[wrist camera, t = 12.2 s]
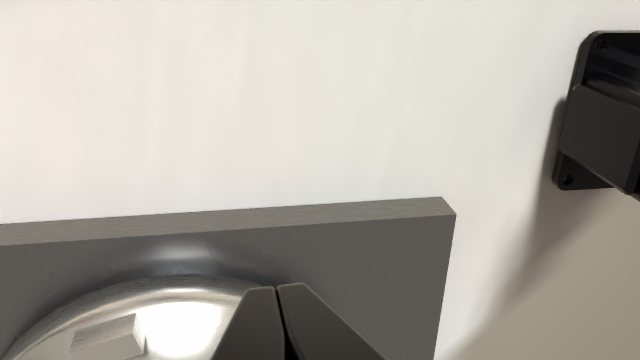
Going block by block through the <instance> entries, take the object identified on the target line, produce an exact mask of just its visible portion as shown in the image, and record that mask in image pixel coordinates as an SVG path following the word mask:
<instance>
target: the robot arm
mask: <svg viewBox="0 0 640 360" xmlns="http://www.w3.org/2000/svg"><path fill="white" fill-rule="evenodd" d="M600 40H601V46H600V48H598V49H597V50H596V45H597V43H598V42H599V41H600ZM566 175H568V177H567V179H565V180H564V181H563V179H564V177H565V176H566ZM552 182H553V184H554V185H556V186H557V187H558V188H560V189H561V190H565V191H567V190H583V189H599V188H617V189H618V190H620V191H621V192H623V193H624V194H626V195H630V196H632V197H633V198H635V199H636V200H638V201H640V31H594V32H592V33H591V34H589V35H588V37H587V38H586V39H585V41H584V44H583V48H582V52H581V56H580V61H579V65H578V69H577V73H576V77H575V82H574V86H573V90H572V92H571V96H570V100H569V105H568V109H567V113H566V117H565V122H564V126H563V130H562V134H561V138H560V143H559V149H558V153H557V157H556V162H555V166H554V170H553V174H552ZM210 360H387V359H386V358H385V357H384V356H383V355H382V354H381V353H380V352H378V351H377V350H376V349H375V348H374V347H373V346H372V345H371V344H370V343H369V342H368V341H367V340H365V339H364V338H363V337H362V336H361V335H360V334H359V333H358V332H357V331H356V330H355V329H354V328H352V327H351V326H350V325H349V324H348V323H347V322H346V321H345V320H344V319H343V318H342V317H341V316H339V315H338V314H337V313H336V312H335V311H334V310H333V309H332V308H331V307H330V306H329V305H328V304H326V303H325V302H324V301H323V300H322V299H321V298H320V297H319V296H318V295H317V294H316V293H315V292H314V291H312V290H311V289H310V288H309V287H308V286H307V285H306V284H304V283H294V284H285V285H279V286H278V287H277V288H276V290H275V288H274V287H272V286H267V287H258V288H250V289H247V290H246V291H245V293H244V295H243V297H242V298H241V300H240V302H239V304H238V306H237V308H236V310H235V312H234V314H233V316H232V318H231V320H230V322H229V324H228V326H227V327H226V329H225V331H224V333H223V335H222V337H221V339H220V341H219V343H218V345H217V347H216V349H215V351H214V353H213V355H212V357H211V358H210Z"/></svg>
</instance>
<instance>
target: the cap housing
mask: <svg viewBox="0 0 640 360" xmlns="http://www.w3.org/2000/svg"><path fill="white" fill-rule="evenodd" d="M455 221H456V213H455V212H454V211H453V210H452V208H451V207H450V206H449V205H448V204H447V203H446V201H445V200H444V199H443V198H442V197H429V198H413V199H397V200H381V201H365V202H349V203H333V204H317V205H301V206H285V207H269V208H253V209H236V210H220V211H204V212H188V213H172V214H156V215H140V216H124V217H108V218H92V219H76V220H60V221H44V222H27V223H11V224H0V360H2V358H3V356H4V355H5V354H6V353H7V352H8V350H9V349H10V348H11V347H12V346H13V345H14V343H15V342H16V341H17V340H18V339H19V338H20V337H21V336H22V335H23V334H24V333H26V332H27V331H28V330H29V329H30V328H31V327H32V326H34V325H35V324H36V323H37V322H38V321H40V320H41V319H43V318H44V317H46V316H47V315H49V314H50V313H52V312H54V311H55V310H57V309H58V308H60V307H61V306H63V305H65V304H67V303H69V302H71V301H73V300H76V299H78V298H80V297H82V296H84V295H86V294H89V293H91V292H94V291H97V290H100V289H103V288H105V287H108V286H111V285H114V284H119V283H123V282H127V281H131V280H135V279H140V278H147V277H155V276H162V275H177V274H202V275H214V276H225V277H230V278H235V279H240V280H245V281H250V282H253V283H256V284H259V285H262V286H265V287H267V286H272V287H274V288H275V290H276V288H277V287H278V286H279V285H285V284H294V283H304V284H306V285H307V286H308V287H309V288H310V289H311V290H312V291H314V292H315V293H316V294H317V295H318V296H319V297H320V298H321V299H322V300H323V301H324V302H325V303H326V304H328V305H329V306H330V307H331V308H332V309H333V310H334V311H335V312H336V313H337V314H338V315H339V316H341V317H342V318H343V319H344V320H345V321H346V322H347V323H348V324H349V325H350V326H351V327H352V328H354V329H355V330H356V331H357V332H358V333H359V334H360V335H361V336H362V337H363V338H364V339H365V340H367V341H368V342H369V343H370V344H371V345H372V346H373V347H374V348H375V349H376V350H377V351H378V352H380V353H381V354H382V355H383V356H384V357H385V358H386V359H387V360H433V358H434V352H435V346H436V339H437V333H438V327H439V321H440V314H441V308H442V302H443V296H444V289H445V283H446V277H447V271H448V264H449V258H450V252H451V246H452V239H453V233H454V227H455Z"/></svg>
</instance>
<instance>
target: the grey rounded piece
mask: <svg viewBox="0 0 640 360" xmlns="http://www.w3.org/2000/svg"><path fill="white" fill-rule="evenodd" d="M258 287H265V286H262V285H259V284H256V283H253V282H250V281H245V280H240V279H235V278H230V277H225V276H214V275H202V274H177V275H162V276H155V277H147V278H140V279H135V280H131V281H127V282H123V283H119V284H114V285H111V286H108V287H105V288H103V289H100V290H97V291H94V292H91V293H89V294H86V295H84V296H82V297H80V298H78V299H76V300H73V301H71V302H69V303H67V304H65V305H63V306H61V307H60V308H58V309H57V310H55V311H54V312H52V313H50V314H49V315H47V316H46V317H44V318H43V319H41V320H40V321H38V322H37V323H36V324H35V325H34V326H32V327H31V328H30V329H29V330H28V331H27V332H26V333H24V334H23V335H22V336H21V337H20V338H19V339H18V340H17V341H16V342H15V343H14V345H13V346H12V347H11V348H10V349H9V350H8V352H7V353H6V354H5V355H4V356H3V358H2V360H210V358H211V357H212V355H213V353H214V351H215V349H216V347H217V345H218V343H219V341H220V339H221V337H222V335H223V333H224V331H225V329H226V327H227V326H228V324H229V322H230V320H231V318H232V316H233V314H234V312H235V310H236V308H237V306H238V304H239V302H240V300H241V298H242V297H243V295H244V293H245V291H246V290H247V289H250V288H258Z"/></svg>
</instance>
